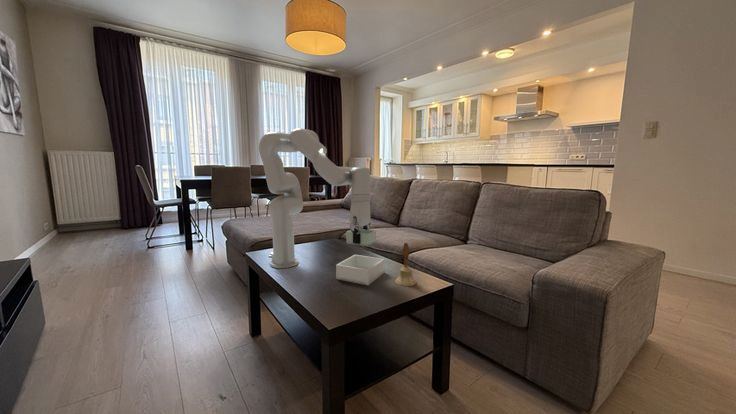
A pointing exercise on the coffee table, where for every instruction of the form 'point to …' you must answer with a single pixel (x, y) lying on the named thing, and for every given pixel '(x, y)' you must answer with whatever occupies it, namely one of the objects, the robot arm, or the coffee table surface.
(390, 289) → the coffee table surface
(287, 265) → the robot arm
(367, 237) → the small crate
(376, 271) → the big crate
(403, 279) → the hand bell
